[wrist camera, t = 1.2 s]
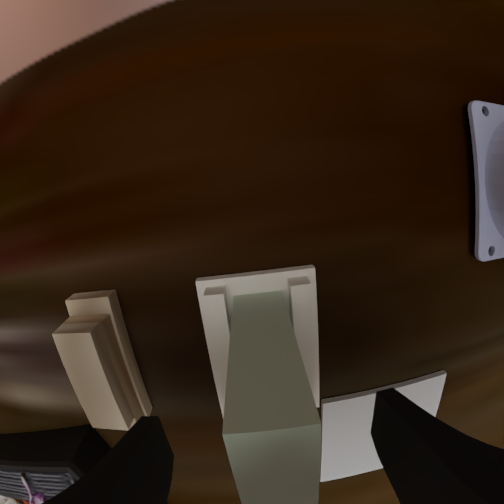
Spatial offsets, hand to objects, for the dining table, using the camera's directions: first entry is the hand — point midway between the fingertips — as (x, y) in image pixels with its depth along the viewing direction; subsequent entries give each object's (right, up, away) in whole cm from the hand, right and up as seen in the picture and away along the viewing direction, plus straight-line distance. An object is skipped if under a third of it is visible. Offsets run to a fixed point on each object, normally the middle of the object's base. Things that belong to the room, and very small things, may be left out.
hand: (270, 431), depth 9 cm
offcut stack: (-8, +1, +6) cm, 9 cm away
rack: (0, +1, +5) cm, 6 cm away
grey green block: (0, +1, +5) cm, 5 cm away
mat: (+7, -5, +7) cm, 11 cm away
